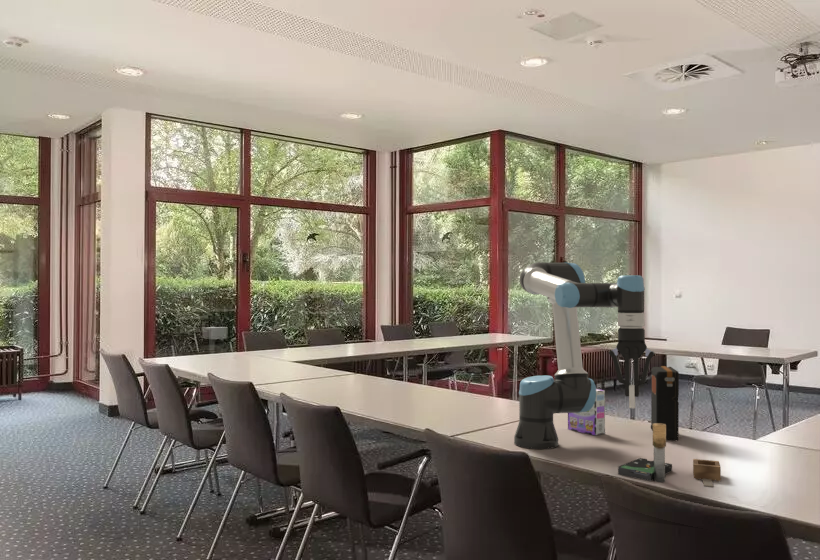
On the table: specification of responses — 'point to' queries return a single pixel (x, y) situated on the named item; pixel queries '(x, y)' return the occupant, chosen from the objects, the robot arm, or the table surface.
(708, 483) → the joist stripe
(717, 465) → the socket
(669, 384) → the black orange case
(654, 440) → the tan and gray bar
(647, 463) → the disk drive
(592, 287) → the robot arm
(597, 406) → the candy box
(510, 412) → the table surface
